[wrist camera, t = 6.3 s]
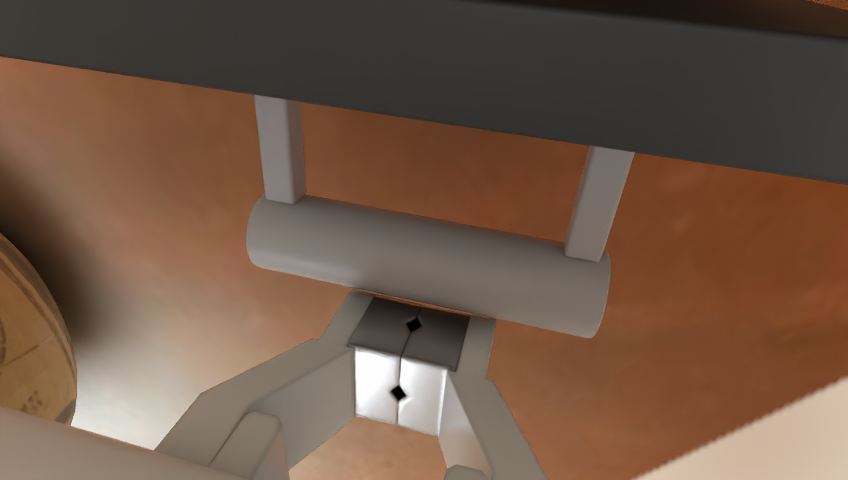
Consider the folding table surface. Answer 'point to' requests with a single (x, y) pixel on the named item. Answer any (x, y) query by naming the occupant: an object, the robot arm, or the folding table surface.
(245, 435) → the robot arm
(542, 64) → the fryer drawer
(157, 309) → the folding table surface
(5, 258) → the ceramic bowl
